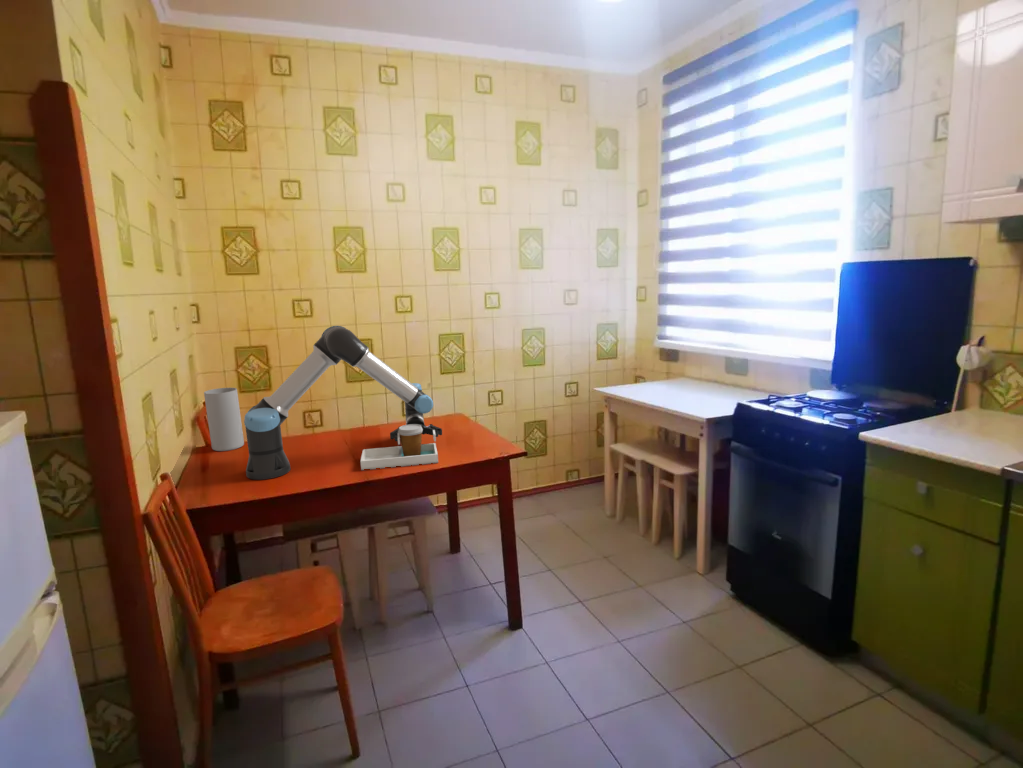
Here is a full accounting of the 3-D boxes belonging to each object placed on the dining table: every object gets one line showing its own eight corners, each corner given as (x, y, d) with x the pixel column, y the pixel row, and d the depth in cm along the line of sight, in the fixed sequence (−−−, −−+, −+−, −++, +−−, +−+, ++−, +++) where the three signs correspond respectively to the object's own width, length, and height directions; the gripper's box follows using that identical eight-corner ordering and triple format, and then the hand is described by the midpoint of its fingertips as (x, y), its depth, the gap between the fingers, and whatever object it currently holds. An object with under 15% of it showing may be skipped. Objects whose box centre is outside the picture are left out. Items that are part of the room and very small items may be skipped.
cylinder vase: (235, 451, 235) (227, 393, 230) (206, 452, 235) (197, 394, 231) (249, 442, 247) (242, 387, 242) (222, 443, 248) (214, 388, 243)
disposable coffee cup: (418, 461, 212) (416, 431, 209) (395, 460, 214) (393, 430, 212) (428, 453, 221) (426, 424, 218) (406, 452, 223) (404, 423, 221)
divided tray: (361, 470, 207) (360, 461, 206) (363, 457, 221) (362, 449, 220) (438, 462, 212) (437, 454, 211) (435, 451, 226) (435, 443, 225)
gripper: (445, 431, 236) (450, 445, 216) (385, 436, 232) (384, 451, 211) (444, 414, 235) (449, 427, 214) (384, 418, 230) (382, 432, 210)
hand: (416, 439), depth 213 cm, fingers open, 13 cm apart
